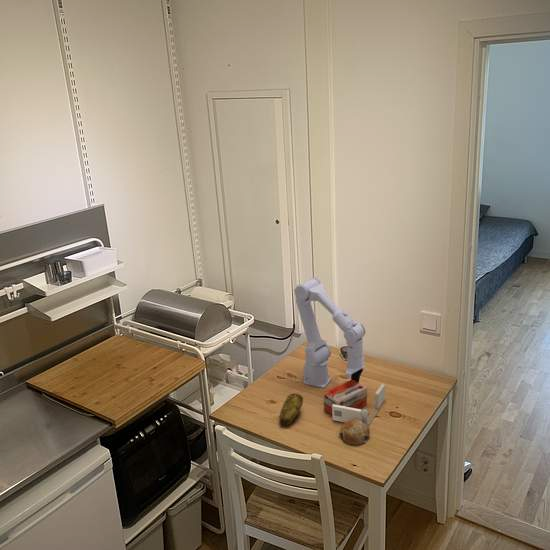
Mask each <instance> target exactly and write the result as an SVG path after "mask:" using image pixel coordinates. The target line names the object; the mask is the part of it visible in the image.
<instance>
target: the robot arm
mask: <svg viewBox="0 0 550 550" xmlns="http://www.w3.org/2000/svg"><path fill="white" fill-rule="evenodd" d="M293 292H294V295H295V303H296V307H297V310H298V313H299V316H300V320H301V322H302V323H301V324H302V326H303V330H304V334H305V337H306V340H307V344H306V346H305V348H304V352H305V362H304V365H303V384H304V385H310V386H313V387H317V388H322V389H324V388H325V387H326V386H328V385H329V383H330V382H331V381H332V377H329V374H328V369H329V368H328V362H329V358H331V355H332V351H331V348H330V347H329V346H328V344H327V341H326V340H324V339H323V338H322V337H321V335H320V334H321V333H320V330H319V327H318V324H317V321H316V320H317V319H316V316H315V313H314V309H313V306H312V302H318V303H319V304H320V305H321V306H322V307H324V308H325V310H327V311H328V312H329V313H330V314H331V315H332V321H333V322H334V323H335V324H336V325H337V327H338V328H340V330H341V331H342V332H343V337H344V339H345V342H346V346H347V351H346V352H347V353H346V354H347V355H346V356H347V361H346V371H345V374H344V375H345V376H344V377H345V378H346V379H350V380H352V379H353V380H355V381H356V382H358V383H360V378H361V375H362V373H363V371H364V370H365V369H366V365H365V364H364V362H365V356H363V337H365V335H366V329H365V326H364V325H363V324H362V323H360V322H357V321H355V320H354V319H353V318H352V317H351V315H349V313H348V312H347V311H346V310H345V309H341V308H339V307H338V305H336V303H335V302H334V301H333V299H332V298H331V297H330V296H329V294H328V293H327V292H326V291H325V285H324V284H323V283H322V282H321V280H320V279H319V278H317V277H311V278H310V279H308V280H307V281H306V280H305V281H304V282H302V283H299V284H296V287H295V288H294V290H293Z"/></svg>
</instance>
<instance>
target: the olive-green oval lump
mask: <svg viewBox="0 0 550 550" xmlns="http://www.w3.org/2000/svg"><path fill="white" fill-rule="evenodd" d="M303 403H304V398H303V396H302V395H300V394H299V393H290V394H289V395H288V396H287V397H286V399H285V400H284V403H283V405H282V407H281V410H280V412H279V420H280V423H281V424H282V425H284V426H288V425H289V424H292V422H293V421H294V419H296V417H297V416H298V414H299V412H300V411H301V408H302V406H303V405H304V404H303Z"/></svg>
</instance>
